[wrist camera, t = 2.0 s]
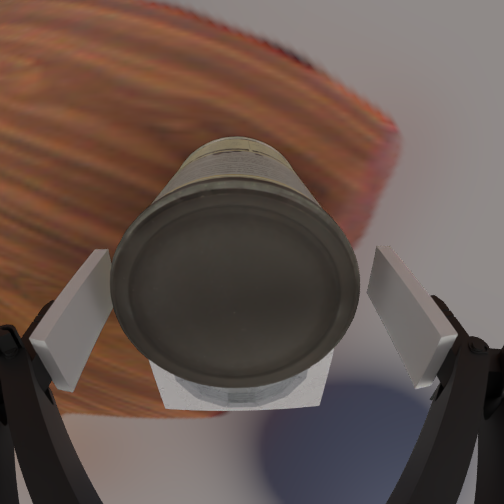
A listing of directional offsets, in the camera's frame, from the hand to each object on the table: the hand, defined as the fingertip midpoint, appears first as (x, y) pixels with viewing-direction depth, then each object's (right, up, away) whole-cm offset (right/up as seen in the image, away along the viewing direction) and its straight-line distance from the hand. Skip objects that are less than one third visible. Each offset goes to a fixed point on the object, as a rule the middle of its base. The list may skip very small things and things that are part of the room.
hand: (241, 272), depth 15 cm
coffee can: (-1, +5, +10) cm, 11 cm away
